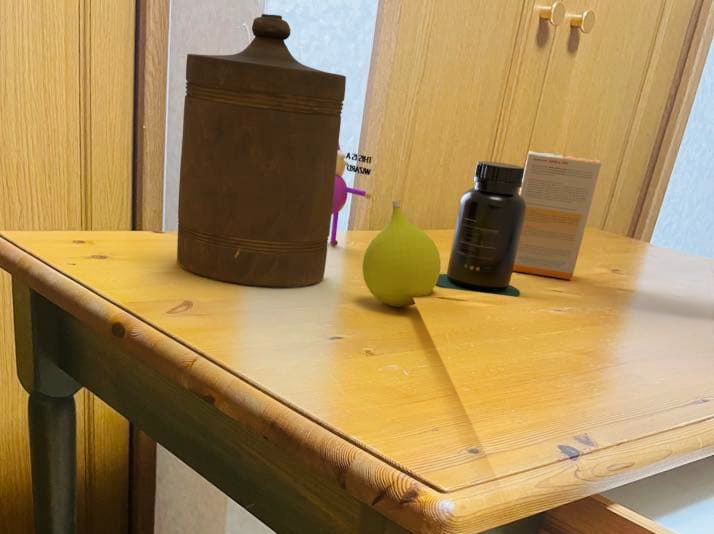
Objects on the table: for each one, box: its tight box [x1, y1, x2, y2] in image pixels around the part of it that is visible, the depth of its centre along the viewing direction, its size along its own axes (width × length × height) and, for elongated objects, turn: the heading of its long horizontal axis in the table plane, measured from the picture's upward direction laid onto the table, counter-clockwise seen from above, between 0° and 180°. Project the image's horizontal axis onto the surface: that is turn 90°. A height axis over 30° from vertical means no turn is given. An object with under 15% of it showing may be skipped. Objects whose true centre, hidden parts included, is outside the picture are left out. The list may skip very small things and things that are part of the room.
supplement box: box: [512, 150, 602, 281], centre depth 100 cm, size 8×5×13 cm, turn 77°
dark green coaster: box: [435, 273, 521, 298], centre depth 91 cm, size 10×10×1 cm
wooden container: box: [176, 13, 347, 288], centre depth 80 cm, size 15×15×22 cm
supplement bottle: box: [446, 160, 526, 292], centre depth 88 cm, size 7×7×12 cm
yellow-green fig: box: [362, 196, 442, 308], centre depth 76 cm, size 7×7×10 cm
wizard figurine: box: [329, 143, 373, 247], centre depth 99 cm, size 11×3×12 cm, turn 49°
